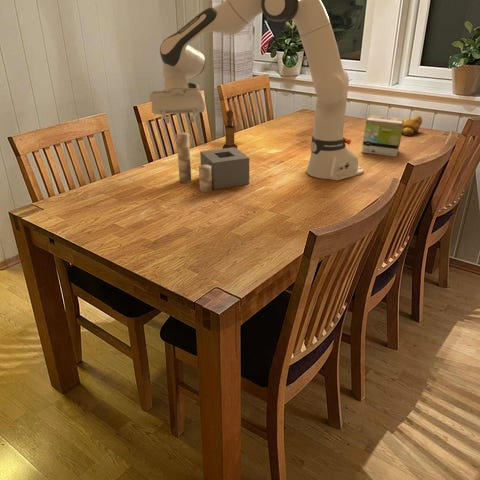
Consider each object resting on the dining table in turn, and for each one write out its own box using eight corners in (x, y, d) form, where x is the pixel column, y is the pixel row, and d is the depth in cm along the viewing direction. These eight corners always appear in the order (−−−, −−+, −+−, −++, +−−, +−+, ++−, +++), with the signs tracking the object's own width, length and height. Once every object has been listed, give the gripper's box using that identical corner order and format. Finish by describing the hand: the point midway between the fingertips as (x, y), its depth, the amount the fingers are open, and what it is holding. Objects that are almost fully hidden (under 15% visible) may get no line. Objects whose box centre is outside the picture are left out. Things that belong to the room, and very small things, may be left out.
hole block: (234, 171, 185) (234, 147, 181) (249, 183, 174) (249, 157, 169) (201, 176, 181) (200, 151, 176) (213, 189, 169) (213, 162, 165)
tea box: (361, 153, 206) (365, 119, 199) (364, 147, 214) (369, 114, 207) (396, 157, 201) (402, 123, 194) (399, 150, 209) (404, 117, 202)
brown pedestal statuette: (235, 154, 205) (235, 112, 196) (221, 153, 206) (220, 111, 198) (238, 149, 211) (238, 109, 202) (224, 148, 212) (223, 108, 203)
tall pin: (189, 178, 179) (186, 131, 171) (192, 182, 176) (190, 134, 167) (178, 179, 178) (175, 133, 169) (181, 183, 174) (178, 136, 166)
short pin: (209, 187, 171) (208, 164, 167) (213, 191, 167) (213, 167, 163) (198, 189, 169) (197, 165, 165) (202, 193, 166) (201, 169, 162)
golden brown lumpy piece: (413, 137, 227) (416, 121, 223) (393, 134, 232) (396, 118, 228) (421, 131, 236) (424, 115, 233) (402, 128, 241) (405, 113, 238)
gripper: (148, 86, 176) (151, 118, 172) (202, 84, 179) (207, 116, 175) (149, 96, 182) (152, 127, 178) (202, 94, 185) (206, 125, 181)
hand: (180, 122), depth 177 cm, fingers open, 8 cm apart
